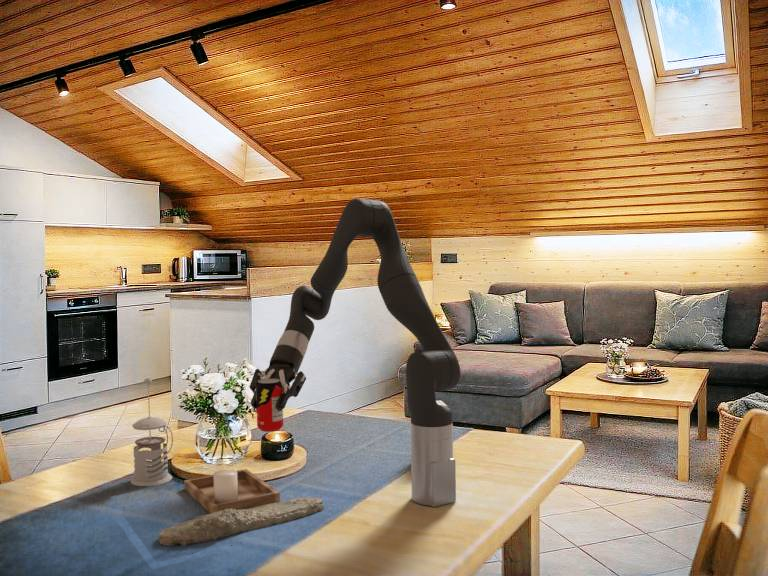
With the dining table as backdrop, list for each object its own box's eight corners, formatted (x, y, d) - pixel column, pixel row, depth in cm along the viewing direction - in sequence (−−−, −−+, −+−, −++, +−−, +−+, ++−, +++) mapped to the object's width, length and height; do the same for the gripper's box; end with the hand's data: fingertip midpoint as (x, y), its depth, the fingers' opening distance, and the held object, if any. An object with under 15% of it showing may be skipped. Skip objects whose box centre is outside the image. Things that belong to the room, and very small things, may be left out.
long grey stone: (334, 523, 154) (311, 512, 162) (334, 498, 154) (311, 488, 162) (167, 556, 134) (151, 541, 142) (167, 527, 134) (151, 514, 142)
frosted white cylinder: (241, 506, 157) (240, 474, 157) (219, 510, 155) (218, 478, 154) (233, 499, 162) (232, 468, 161) (211, 503, 159) (210, 472, 159)
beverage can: (275, 424, 183) (273, 377, 182) (288, 429, 178) (287, 380, 177) (252, 429, 179) (250, 380, 178) (265, 434, 174) (264, 383, 173)
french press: (121, 482, 177) (117, 380, 176) (157, 469, 188) (153, 372, 186) (151, 488, 173) (147, 383, 171) (186, 474, 183) (182, 374, 182)
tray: (279, 506, 160) (279, 492, 160) (212, 520, 152) (212, 506, 152) (246, 481, 177) (246, 469, 177) (184, 493, 169) (184, 480, 169)
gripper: (259, 342, 187) (234, 397, 177) (309, 344, 181) (285, 401, 171) (271, 360, 192) (247, 414, 182) (320, 362, 186) (298, 418, 176)
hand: (266, 408), depth 177 cm, fingers closed on beverage can, 6 cm apart
